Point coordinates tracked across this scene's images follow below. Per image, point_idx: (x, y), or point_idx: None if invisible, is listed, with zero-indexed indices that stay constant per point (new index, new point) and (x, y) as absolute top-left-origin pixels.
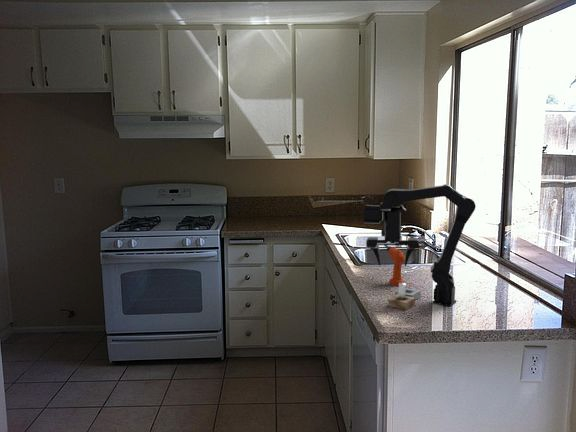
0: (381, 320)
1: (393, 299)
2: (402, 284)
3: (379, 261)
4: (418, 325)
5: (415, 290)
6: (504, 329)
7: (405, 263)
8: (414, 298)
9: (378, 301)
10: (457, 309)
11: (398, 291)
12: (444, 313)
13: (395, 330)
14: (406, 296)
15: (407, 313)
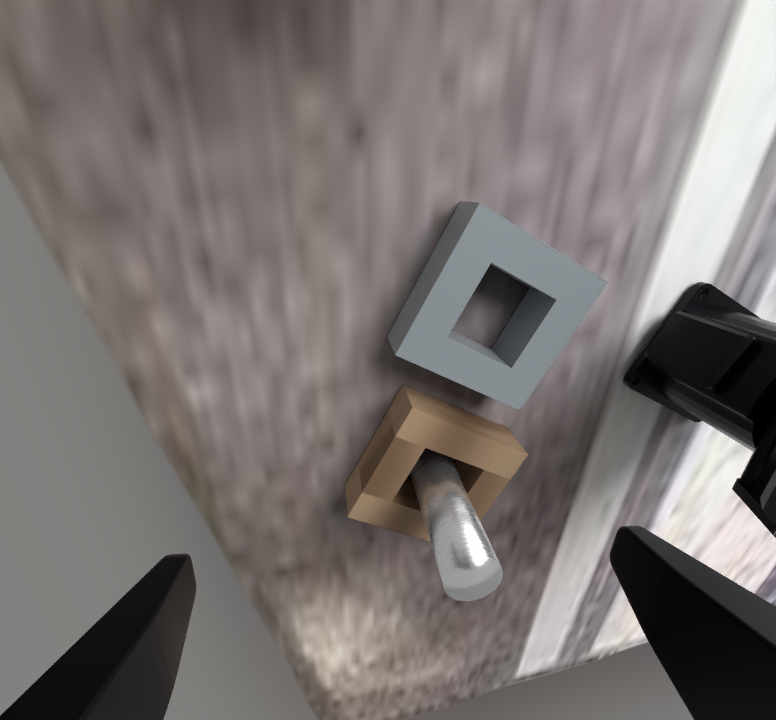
0: (322, 656)
1: (381, 517)
2: (471, 599)
3: (153, 708)
4: (476, 654)
5: (569, 281)
6: (772, 601)
7: (648, 622)
8: (520, 463)
9: (275, 422)
10: (711, 447)
11: (425, 338)
12: (624, 514)
13: (383, 711)
14: (473, 441)
15: None
